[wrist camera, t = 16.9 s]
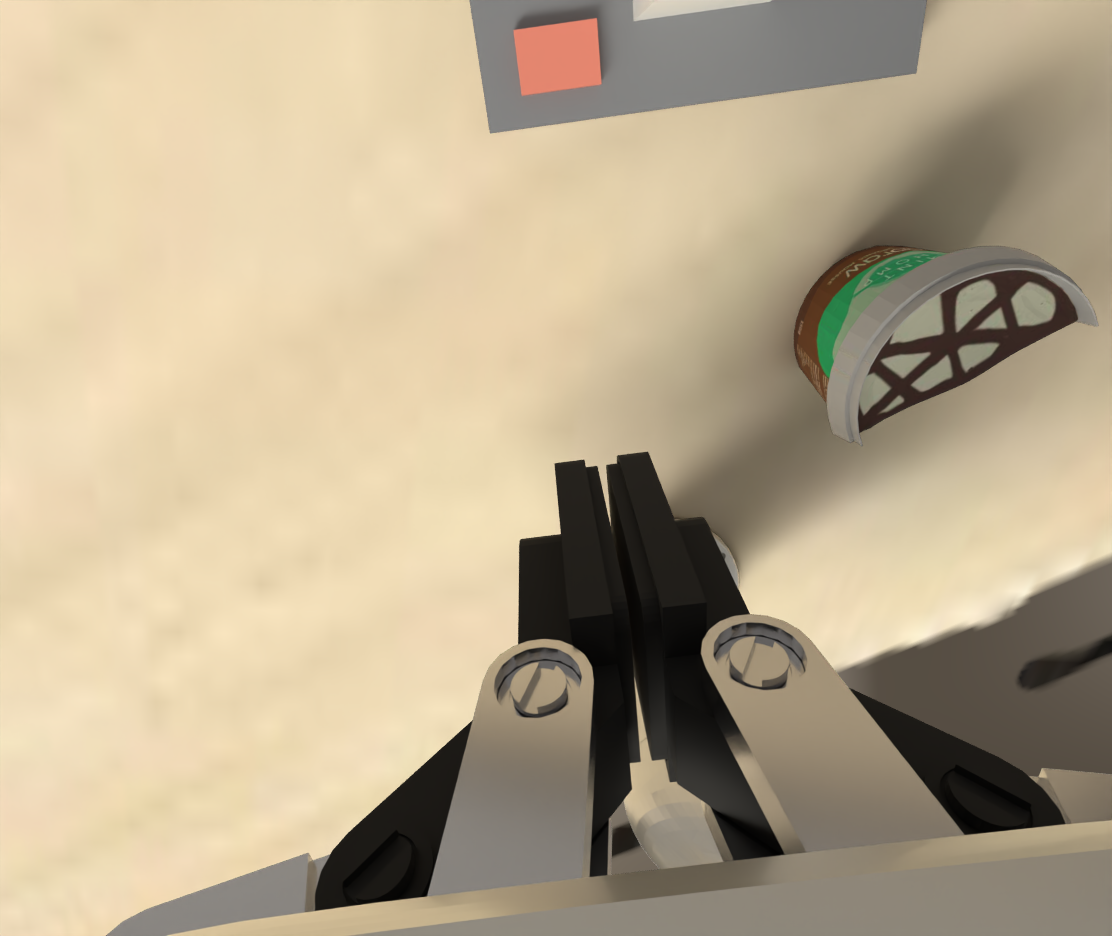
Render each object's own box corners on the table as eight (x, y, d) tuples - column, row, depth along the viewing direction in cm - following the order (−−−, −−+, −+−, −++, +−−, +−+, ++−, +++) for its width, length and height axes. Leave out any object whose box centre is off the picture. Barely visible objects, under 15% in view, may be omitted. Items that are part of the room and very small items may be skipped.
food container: (944, 176, 34) (1092, 194, 25) (969, 273, 36) (1111, 319, 28) (739, 297, 36) (808, 351, 28) (777, 379, 39) (851, 451, 30)
